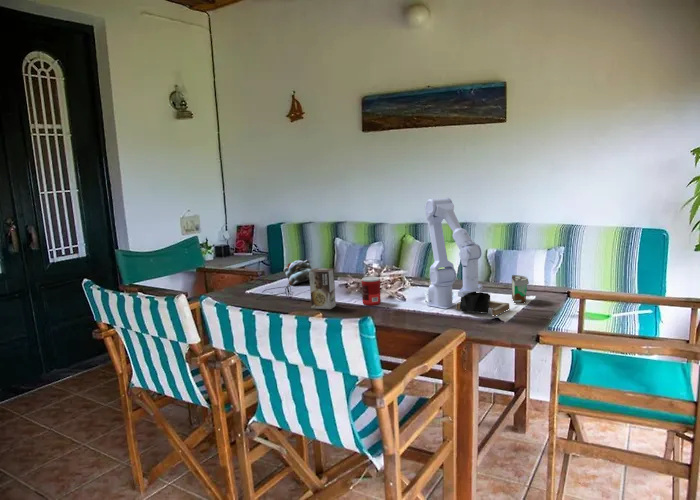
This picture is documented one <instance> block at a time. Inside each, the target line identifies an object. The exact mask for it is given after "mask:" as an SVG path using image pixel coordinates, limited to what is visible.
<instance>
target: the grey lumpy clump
mask: <svg viewBox="0 0 700 500" xmlns="http://www.w3.org/2000/svg"><path fill="white" fill-rule="evenodd" d="M311 270H313V269H312V267H311V263H310V260H308V259H306V260H304V259H303V258H300V259H297V260H294V261H293V262H291V263H290V262H289V263H287V266H285V267H284V269H283V271H284V273H285V275H286V277H287V280H288V283H290V286H294V285H296V284H301V283H305V282H310V278H309V271H311Z"/></svg>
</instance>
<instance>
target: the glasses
mask: <svg viewBox="0 0 700 500" xmlns="http://www.w3.org/2000/svg"><path fill="white" fill-rule="evenodd" d="M281 288H285V289H284V291H285V292H282V293H276V294H268V295H262V296H259V297H257V299H256V300H259V299H261V298H263V297H270V296H279V295H286V297H289V294H291V292H292V287H291V285H290V283H289V282H288V283H287V286H279V287H277V289H281ZM274 289H275V290H276V287H273V288H272V287H271V288H268V289H264V290H263V291H262V293H264V292H265V291H269V290H274ZM289 289H290V290H289Z"/></svg>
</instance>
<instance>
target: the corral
mask: <svg viewBox="0 0 700 500" xmlns="http://www.w3.org/2000/svg"><path fill="white" fill-rule="evenodd" d="M460 302H461V301H458V302H456V304H457V305H456V311H462V310H461V309H460ZM492 308H493V309H492ZM489 309H491V316H492V315H494V316H496V315H498V314H500V313H502V312H504V311H506V310H508V309H509V310H510V303H507V302H502V301H495V300H490V304H489ZM504 313H505V312H504ZM502 314H503V313H502ZM500 315H501V314H500ZM494 316H493V317H494ZM498 316H499V315H498ZM496 317H497V316H496Z"/></svg>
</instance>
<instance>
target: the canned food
mask: <svg viewBox="0 0 700 500" xmlns="http://www.w3.org/2000/svg"><path fill="white" fill-rule="evenodd" d="M361 293H362V294H361V297H362V299H361V300H362V304H363V305H364V306H369V307H370V306H378V305H380V304H381V300H382V299H381V298H382V297H381V278H380V277H379V276H364V277H362V278H361Z"/></svg>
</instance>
